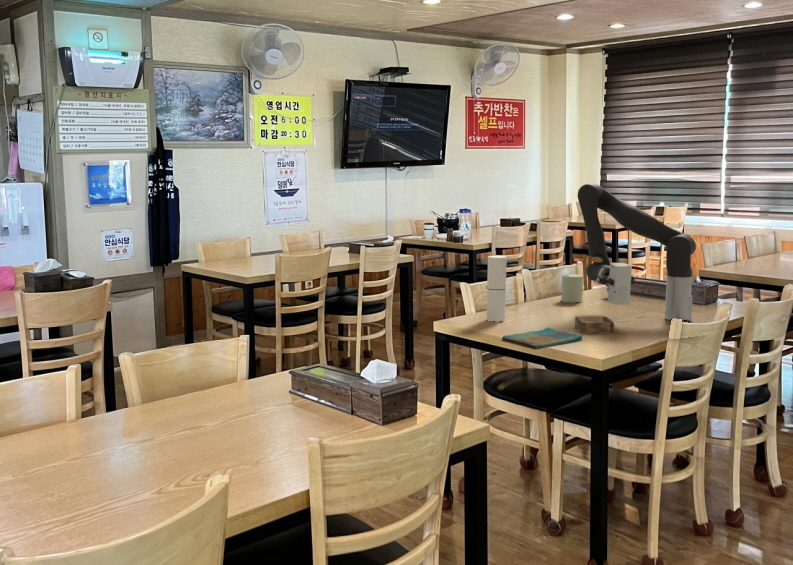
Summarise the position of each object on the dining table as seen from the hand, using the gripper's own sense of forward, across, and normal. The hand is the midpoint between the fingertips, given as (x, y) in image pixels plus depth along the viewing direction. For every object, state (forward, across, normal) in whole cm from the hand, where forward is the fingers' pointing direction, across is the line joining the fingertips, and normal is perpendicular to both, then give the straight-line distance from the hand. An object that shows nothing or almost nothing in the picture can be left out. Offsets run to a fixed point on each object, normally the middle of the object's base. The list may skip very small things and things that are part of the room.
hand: (621, 282), depth 296 cm
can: (-56, -6, +17) cm, 58 cm away
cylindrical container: (-12, -45, +16) cm, 50 cm away
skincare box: (-2, 0, +8) cm, 9 cm away
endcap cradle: (+5, -11, +17) cm, 21 cm away
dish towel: (+22, -33, +17) cm, 44 cm away
